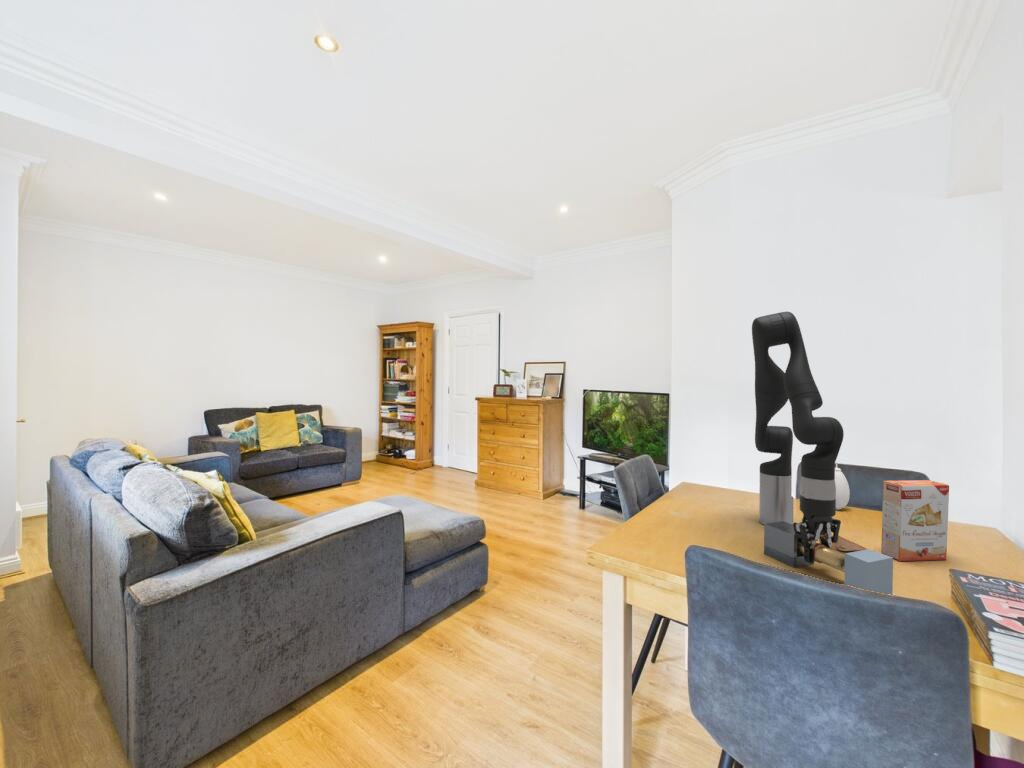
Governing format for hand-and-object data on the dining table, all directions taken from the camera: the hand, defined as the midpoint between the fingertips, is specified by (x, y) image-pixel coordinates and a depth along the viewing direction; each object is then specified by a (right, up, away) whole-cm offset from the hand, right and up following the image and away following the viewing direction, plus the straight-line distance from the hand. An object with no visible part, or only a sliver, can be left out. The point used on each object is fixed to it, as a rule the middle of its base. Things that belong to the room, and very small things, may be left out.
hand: (816, 560), depth 109 cm
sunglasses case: (+15, -3, +9) cm, 18 cm away
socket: (+4, -3, -11) cm, 12 cm away
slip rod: (-1, 0, +2) cm, 3 cm away
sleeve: (-2, -3, +8) cm, 8 cm away
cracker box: (+33, -3, +9) cm, 34 cm away
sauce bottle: (+44, -2, +51) cm, 67 cm away
